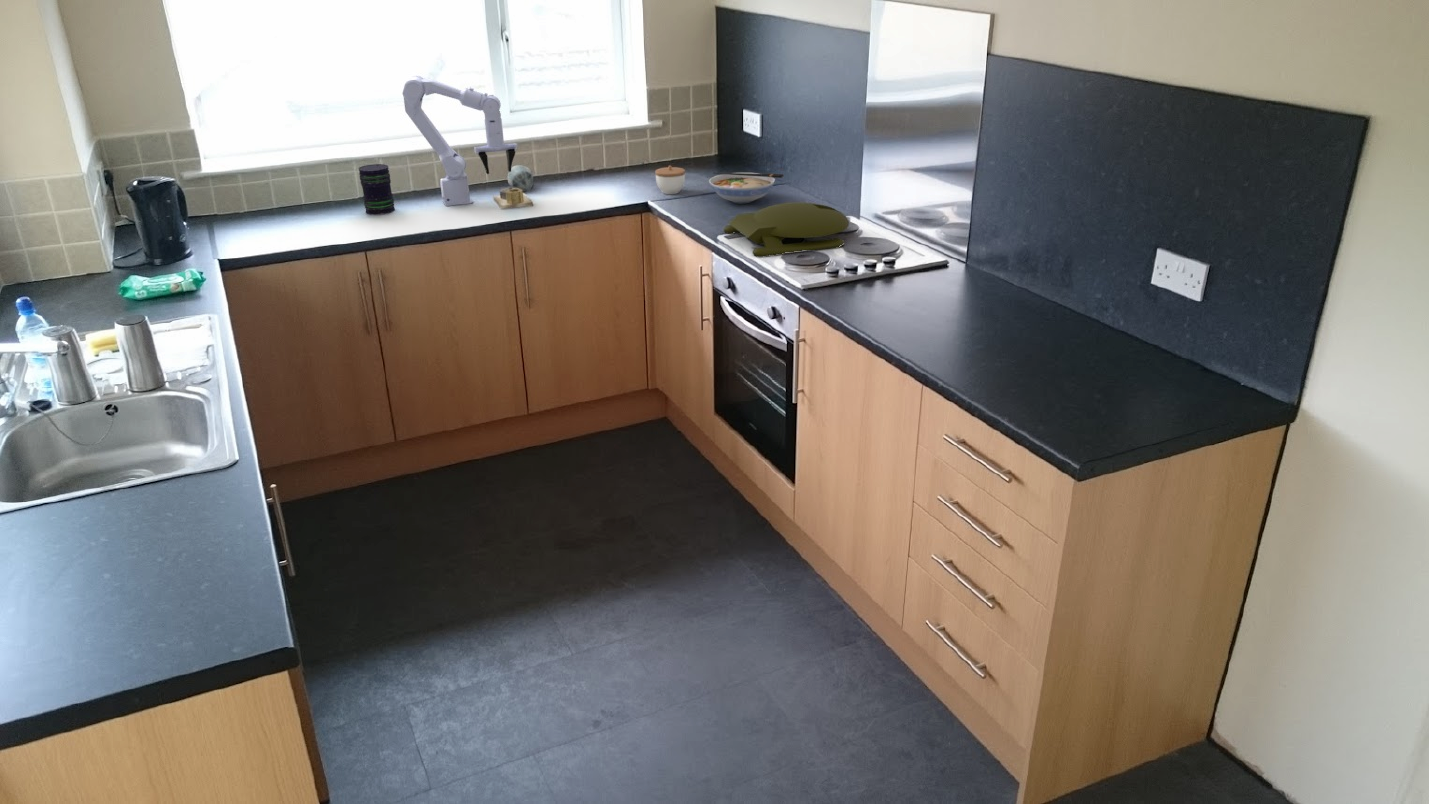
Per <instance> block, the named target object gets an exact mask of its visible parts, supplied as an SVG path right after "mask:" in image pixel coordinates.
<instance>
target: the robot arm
mask: <svg viewBox="0 0 1429 804" xmlns="http://www.w3.org/2000/svg"><path fill="white" fill-rule="evenodd" d="M474 89H475V88H473V87H470V88H464V89H458V88H456V87H453V86H450V85H448V84H445V83H443V82H441V81H438V80H434V79H431V78H427V77H423V76H419V75H414V76H412V77H411V78H409V80H407V81H406V82H405V84H404V85H403V90H402V96H403V103H404V104H403V105H404V111H405V113H406V115H407V116H408V117H409V118H410V119H411V121H412V123H414V125H415V126H416V128H417V129H418V130H419V132H420V133H421V135H422V136H423V137H424V138H425V140H426V141H427V143H428V144H429V146H430V147H431V148H432V149H433V150H434V152H435V153H436V155H437V156H438V158H439V160H440V163H441V164H442V166H443V169H444V173H445V174H446V175H445V177H444V178H440V180H439V181H440V182H439V183H440V190H441V191H440V192H441V201H442V203H443V204H444V205H445V207H449V206H457V205H466V204H474V202H473V200H472V199H471V196H470V186H469V180H468V174H467V173H466V172H465V170H466V167H467V161H466V159H465V158H464V157H463V156H461V155H459V154H458V153H457V152H456V150H455V149H453V148H452V147H451V146H450V145H449V143H448V142H447V141H446V140H445V138H444V137H443V136H442V134H441V132H440V131H439V130H438V129H437V128H436V126H435V124H434V123H433V122H432V121H431V119H430V118H429V117H428V115H427V114H426V113H425V111H424V110H423V108H422V106H423V105H422V104H423V99H424V97H425V96H430V95H434V94H436V95H441V96H445V97H447V98H450V99H451V98H452V99H454V100H458V101H459V103H460V104H461V105H462V106H465V107H468V108H470V109H473V110H476V111H480V112H481V111H482V112H483V114H484V127H485V136H486V145H480V146H474V147H473V148H474V154H476V155H478V157H479V158H480V160H481V161H482V164H483V166H484V170H485V173H486V174H487V175H489V174H490V170H489V162H488V160H489V159H488V155H487V153H493V152H494V153H495V152H504V151H505V154H506V163H507V171H508V173H509V172H511V168H512V167H513V161H514V157H515V156H516V151H518V148H519V147H518V143H517V142H516V143H515V142H514V143H505V139H504V131H503V130H504V129H503V121H502V116H501V115H502V113H501V111H500V109H501V104H502V103H501V100H500V98H498V97H497V96H495V95H493V94H489V95H488V93H487V92H484V93H482V92H479V91H476V90H474Z"/></svg>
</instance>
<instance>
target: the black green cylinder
mask: <svg viewBox="0 0 1429 804" xmlns="http://www.w3.org/2000/svg"><path fill="white" fill-rule="evenodd" d="M358 172H359V180H360V185H361V187H362V192H363V193H362V194H363V196H362V197H363V205H364V209H365V214H367V215H372V216H377V215H379V216H380V215H386V214H390V213H393V212H395V211H396V208H395V204H394V203H395V200H394V194H393V193H392V188H391V187H392V186H391V173H390V170H389V165H387V164H382V163H381V164H380V163H378V164H377V163H375V164H367V165H363V166H359V167H358Z"/></svg>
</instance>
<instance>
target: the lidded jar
mask: <svg viewBox="0 0 1429 804" xmlns="http://www.w3.org/2000/svg"><path fill="white" fill-rule="evenodd" d="M654 174H655V183H656V185H657V187H658V189H659V190H660V191H661V192H662V194H665V195H674V194H679V193H680V191H682V189H683V188H684V185H685V183H686V182H685V181H686V170H685V168H682V167H678V166H677V167H675V166H674V167H672V165H668V167H660V168H658V169H656V170H655V171H654Z"/></svg>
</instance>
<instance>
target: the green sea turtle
mask: <svg viewBox="0 0 1429 804" xmlns="http://www.w3.org/2000/svg"><path fill="white" fill-rule="evenodd" d="M849 224H850V222H849V219H848V217H847V216H846V215H845V214H844V213H843V212H841V211H839V210H837V209H835V208H834V207H831V206H827V205H823V204H819V203H816V202H815V203H812V202H805V201H804V202H803V201H802V202H799V201H795V202H793V201H792V202H783V203H778V204H774V205H769V206H766V207H764V208H762V209H759V210H756V212H747V213H739V214H737V215H736V216H735V217H734V218H732V219H731V220H730V221H729V222H728V225H725V226H724V227H723V231H724V232H725V233H726V232H728V233H727V234H729V233H733V232H741V233H740V234H742V235H743V236H745V237H746V238H747V239H748V240H751V241H752V242H754V243H755V244H758V245H763V246H758V247H756V248H754V249H753V250H752V252H751V253H752V255H753V256H754V257H757V256H758V258H762V257H763V256H766V257H770V256H769V255H774V256H777V255H776V254H782V253H785V252H794V251H802V250H815V251H823V250H830V249H837V248H836V247H839V246H840V245H842V244H843V243H845V241H844V240H843V239H841V238H839V237H838V238H837V237H834V238H826V239H818V240H811V241H801V242H794V243H793V242H792V243H785V244H783V242H782V241H783V240H784V239H785V238H790V239H791V238H792V239H797V238H798V239H800V238H803V239H804V238H805V239H806V238H819V237H826V236H827V237H828V236H831V235H835V234H838V233H842V232H843V231H844V230H846V229H848V227H849ZM839 248H840V247H839ZM782 255H783V254H782Z"/></svg>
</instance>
